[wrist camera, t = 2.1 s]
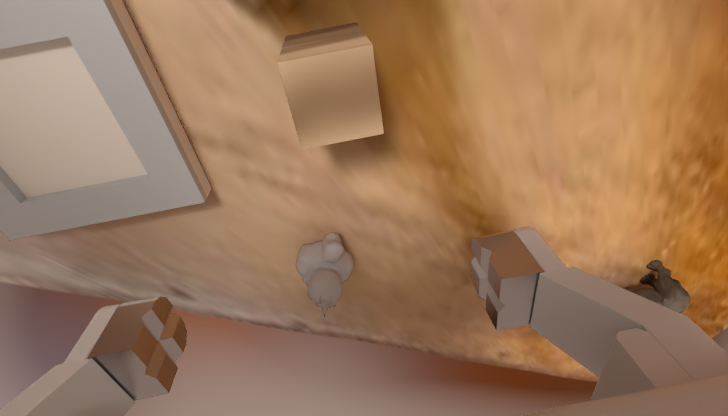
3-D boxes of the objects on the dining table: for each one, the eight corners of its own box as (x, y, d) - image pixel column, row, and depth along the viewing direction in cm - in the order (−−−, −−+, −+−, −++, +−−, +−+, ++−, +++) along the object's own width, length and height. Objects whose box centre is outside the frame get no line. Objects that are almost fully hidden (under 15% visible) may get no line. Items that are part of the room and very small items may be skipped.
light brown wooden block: (286, 35, 25) (277, 62, 18) (356, 22, 25) (372, 44, 18) (303, 105, 28) (301, 149, 21) (366, 93, 28) (383, 133, 21)
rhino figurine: (555, 314, 48) (583, 354, 43) (655, 254, 43) (699, 292, 38) (568, 326, 50) (596, 366, 45) (665, 270, 45) (708, 307, 40)
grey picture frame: (-157, 16, 21) (-202, 21, 20) (106, -33, 22) (87, -33, 20) (27, 223, 31) (9, 240, 29) (211, 187, 31) (205, 202, 29)
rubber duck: (290, 265, 37) (285, 330, 31) (307, 215, 34) (306, 276, 27) (340, 274, 39) (345, 337, 32) (360, 227, 35) (372, 287, 29)
